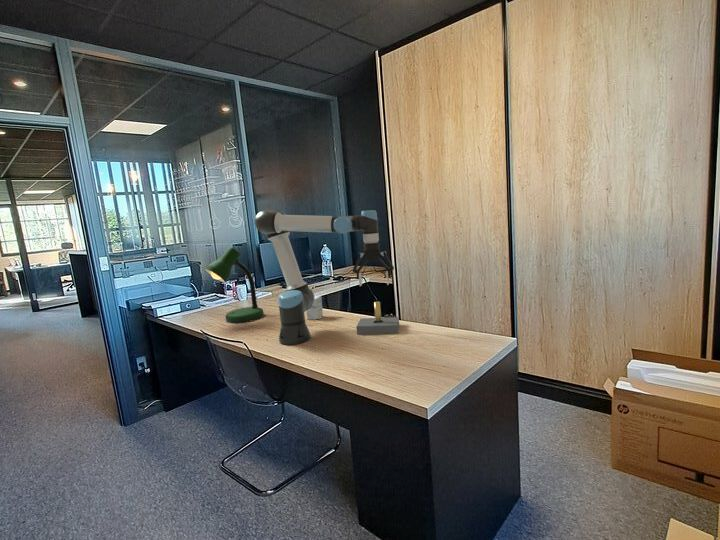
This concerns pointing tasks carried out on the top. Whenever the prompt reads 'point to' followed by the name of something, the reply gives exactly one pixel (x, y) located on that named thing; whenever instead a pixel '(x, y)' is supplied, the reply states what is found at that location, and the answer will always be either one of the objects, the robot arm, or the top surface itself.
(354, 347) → the top surface
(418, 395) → the top surface
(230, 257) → the desk lamp
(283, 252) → the robot arm
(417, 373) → the top surface
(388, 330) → the bore block
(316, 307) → the supplement box
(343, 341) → the top surface
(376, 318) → the brass pin
